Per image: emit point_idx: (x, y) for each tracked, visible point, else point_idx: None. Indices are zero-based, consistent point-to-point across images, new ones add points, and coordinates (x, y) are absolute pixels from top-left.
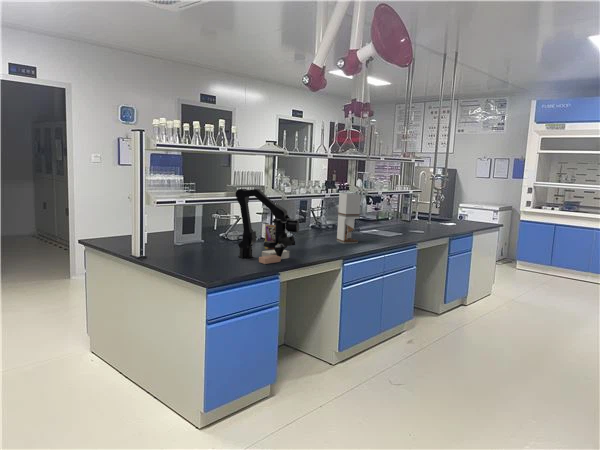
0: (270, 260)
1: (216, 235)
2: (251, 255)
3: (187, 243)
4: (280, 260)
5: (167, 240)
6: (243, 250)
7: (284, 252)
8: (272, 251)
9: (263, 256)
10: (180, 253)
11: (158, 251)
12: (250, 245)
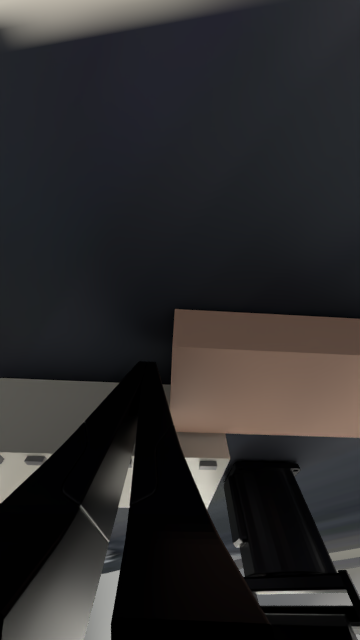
0: (346, 334)
1: (117, 561)
2: (236, 480)
3: (230, 553)
4: (176, 316)
5: (240, 561)
6: (318, 539)
7: (8, 444)
8: (128, 490)
9: (327, 435)
10: (348, 533)
11: (356, 544)
12: (262, 591)
